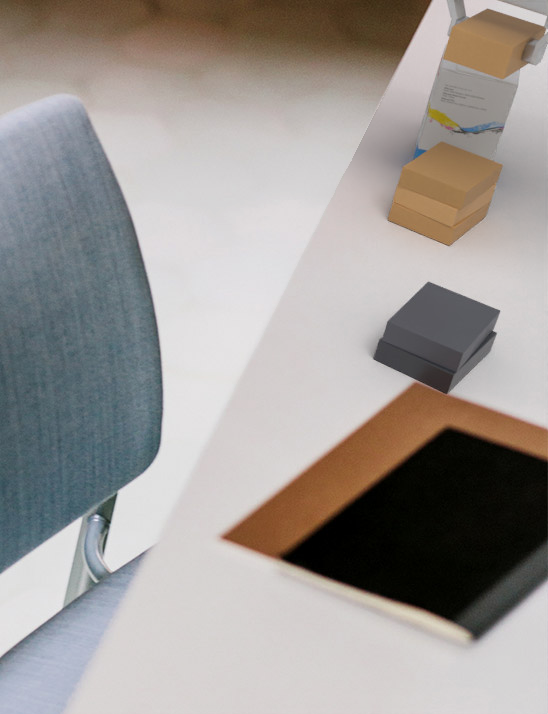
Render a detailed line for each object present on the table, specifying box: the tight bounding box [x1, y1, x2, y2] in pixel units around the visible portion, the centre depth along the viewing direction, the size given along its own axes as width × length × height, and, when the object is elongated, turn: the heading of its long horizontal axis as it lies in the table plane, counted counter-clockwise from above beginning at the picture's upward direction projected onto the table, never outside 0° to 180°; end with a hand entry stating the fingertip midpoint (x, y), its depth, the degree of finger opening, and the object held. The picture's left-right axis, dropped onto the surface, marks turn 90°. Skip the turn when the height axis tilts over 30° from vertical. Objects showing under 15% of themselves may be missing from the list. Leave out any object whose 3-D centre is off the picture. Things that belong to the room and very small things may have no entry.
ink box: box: [412, 43, 521, 161], centre depth 131 cm, size 9×8×12 cm
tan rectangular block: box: [443, 8, 547, 79], centre depth 110 cm, size 6×8×3 cm
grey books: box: [373, 281, 501, 395], centre depth 102 cm, size 7×9×4 cm
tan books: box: [387, 141, 504, 247], centre depth 122 cm, size 7×9×6 cm
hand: (492, 49), depth 110 cm, fingers closed on tan rectangular block, 6 cm apart
